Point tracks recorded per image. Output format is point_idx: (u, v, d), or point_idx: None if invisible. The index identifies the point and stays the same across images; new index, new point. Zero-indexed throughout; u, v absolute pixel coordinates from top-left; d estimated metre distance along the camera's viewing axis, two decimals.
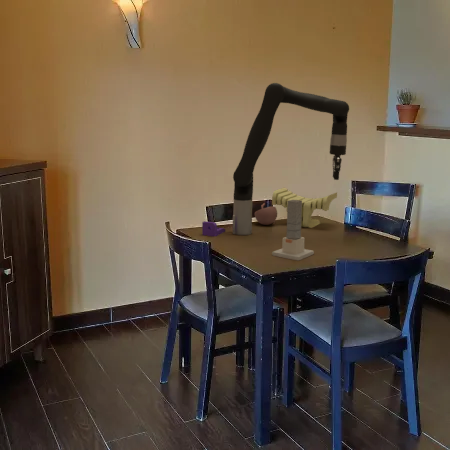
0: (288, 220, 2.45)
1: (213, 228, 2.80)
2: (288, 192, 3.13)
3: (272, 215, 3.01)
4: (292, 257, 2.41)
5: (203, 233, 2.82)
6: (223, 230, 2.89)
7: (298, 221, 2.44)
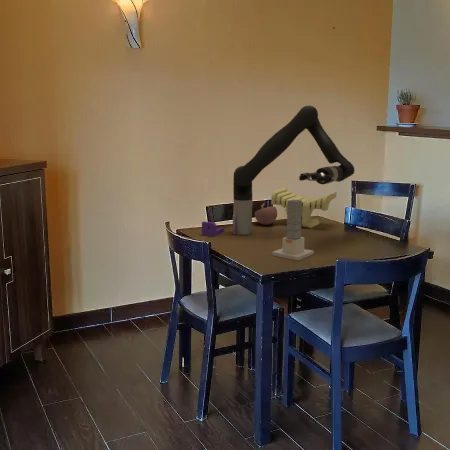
0: (288, 220, 2.45)
1: (213, 228, 2.79)
2: (287, 192, 3.13)
3: (272, 215, 3.01)
4: (292, 257, 2.41)
5: (202, 233, 2.82)
6: (222, 230, 2.89)
7: (298, 221, 2.44)
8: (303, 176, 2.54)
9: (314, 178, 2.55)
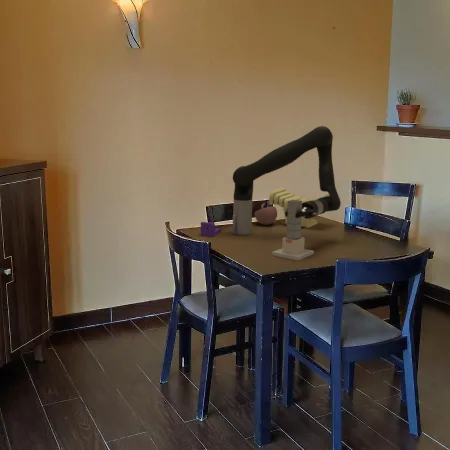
0: (288, 221, 2.45)
1: (212, 228, 2.79)
2: (286, 192, 3.13)
3: (272, 215, 3.01)
4: (292, 257, 2.41)
5: (201, 234, 2.81)
6: (220, 230, 2.89)
7: (298, 221, 2.44)
8: None
9: None
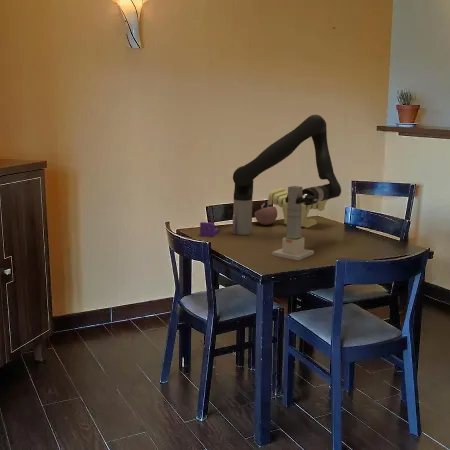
0: (288, 207, 2.43)
1: (211, 228, 2.79)
2: (285, 192, 3.14)
3: (272, 215, 3.01)
4: (292, 257, 2.41)
5: (201, 234, 2.81)
6: (219, 230, 2.88)
7: (298, 207, 2.43)
8: None
9: None
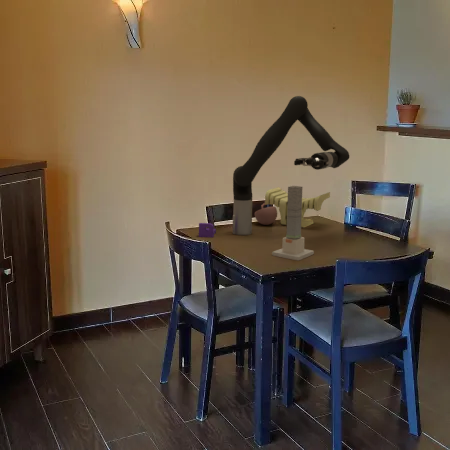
0: (288, 207, 2.43)
1: (211, 229, 2.78)
2: (282, 192, 3.14)
3: (272, 215, 3.01)
4: (292, 257, 2.41)
5: (200, 235, 2.79)
6: (215, 230, 2.88)
7: (298, 207, 2.42)
8: (298, 161, 2.56)
9: (309, 163, 2.57)
